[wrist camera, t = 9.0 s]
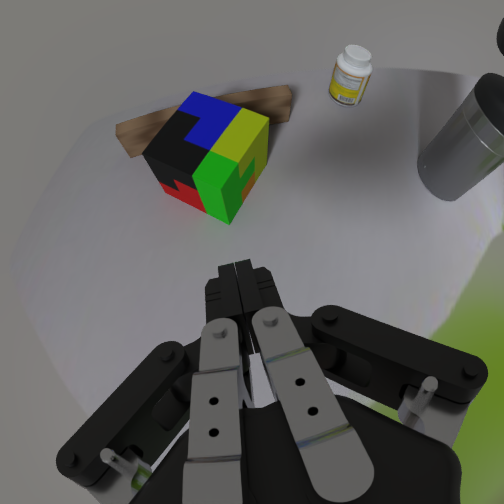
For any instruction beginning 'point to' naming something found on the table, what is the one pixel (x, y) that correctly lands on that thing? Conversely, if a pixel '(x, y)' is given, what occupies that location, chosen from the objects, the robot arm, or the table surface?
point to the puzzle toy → (210, 154)
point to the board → (259, 100)
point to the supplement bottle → (350, 76)
